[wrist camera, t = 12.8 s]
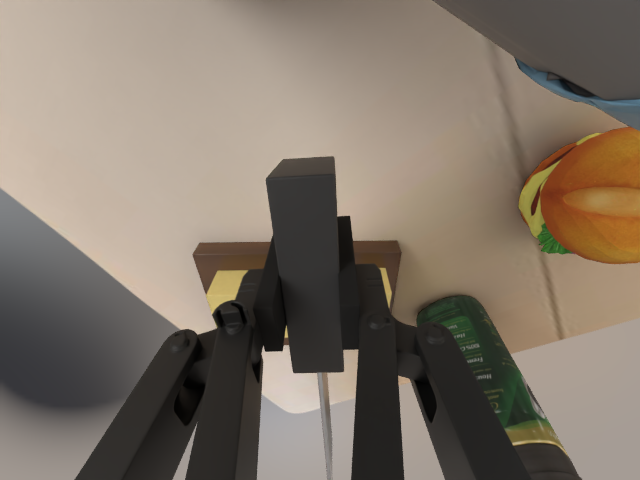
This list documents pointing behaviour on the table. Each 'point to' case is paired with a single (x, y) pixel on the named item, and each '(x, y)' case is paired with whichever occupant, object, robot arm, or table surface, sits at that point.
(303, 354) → the knife
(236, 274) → the butter block
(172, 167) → the table surface
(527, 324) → the table surface
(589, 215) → the cheeseburger
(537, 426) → the coffee jar
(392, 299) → the board
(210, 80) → the table surface
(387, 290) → the butter pat
